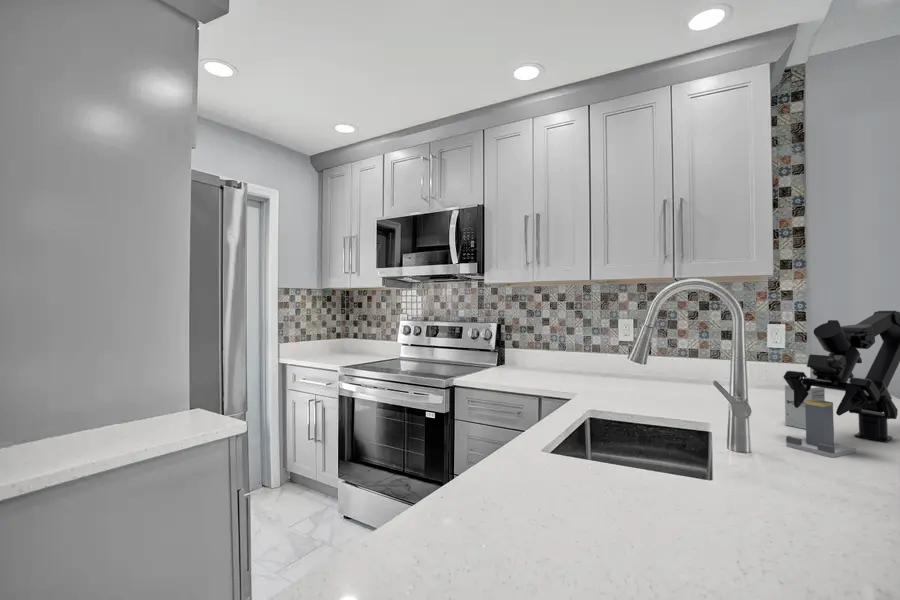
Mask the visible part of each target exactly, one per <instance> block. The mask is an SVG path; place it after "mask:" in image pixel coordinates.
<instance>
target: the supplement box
mask: <svg viewBox="0 0 900 600" xmlns="http://www.w3.org/2000/svg"><path fill="white" fill-rule="evenodd" d="M825 389H826V388H823V387H816V386H811V389H810V390H809V391H807V392H808V393H809V394H808V396H807V397H806V398H805V400H804V401H803V402H802V404H801V405H800V406H799V407H798V408H795V406H794V390H792V389H791V388H790V386H789V385H788V383H785V384H784V410H785V411H784V415H785V416H784V417H785V418H784V420H785V423H784V424H785V426H789V427H795V428H799V429H804V430H806V411H805V401H807V400H814V399H815V400H821V401H826V399H825Z"/></svg>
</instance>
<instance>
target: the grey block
mask: <svg viewBox="0 0 900 600" xmlns="http://www.w3.org/2000/svg"><path fill="white" fill-rule="evenodd" d="M805 411H806V429H805V436H806V438H805V439H806V444H809V445H813V446H817V447H818V444H819V443H821V444H825V445H830V446H834V443H835V432H834V431H835V427H834V425H835V424H834V423H835V422H834V402H833V401H826V400H825V401H821V400H815V399H814V400H807V401H805Z"/></svg>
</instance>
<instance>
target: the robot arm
mask: <svg viewBox="0 0 900 600" xmlns="http://www.w3.org/2000/svg"><path fill="white" fill-rule="evenodd" d="M813 334H814V336H815V338H816V339H817V341H818V342H819V344H820V346H821V347H822V349H823V350H824V351H826V352H828V353H829V354H828V355H826V354H825V355H824V354H809V355H808V358H807V364H806V367H807V368H810V369H811V370H812V372H811V373H812V374H813V376H816V377H815V378H813V377H808V376H807V375H806V373H805V372H804V371H796V370H787V371H785V373H784V375H783V376H782V378H783V379H784V380H785V382H786V384H788V385H789V386H790V388H791V389H792V390H794V406H795V408H798V407H799V406H800V405H801V404H802V402H803V401H804V400H805V398H806V397H807V396H808V394H809V393H808V392H807V391H809V390H810V389H811V386H816V387H823V388H825V389H827V390H834V391H841V392H844V395H843V397H842V399H841V400H840V403H839V405H838V406H837V409H836V415H837V416H842V415H843V414H846V413H848V412H849V413H850V414H857V416H858V432H857V433H856V434H854V437H856V438H859V439H860V438H862V439H866V440H871V441H877V442H878V441H879V442H885V443H886V442H887V443H888V442H889V441H890V440H891V439H892V438H893V436H891V435H888V433H889V432H888V431H889V430H888V420H897V416H898V415H899V414H898V408H897V407H896V405H895V403H894V402H893V400H892V399H893V397H892V396H891V394H890V391H889V390H888V387H889V386H890V383H891V382H892V379H893V377H894V375H895V373H896V371H897V369H898V367H899V364H900V311H897V310H877V311H875V312H873V314H871V316H869V317H867V318H865V319H863V320H862V321H860V322H858V323H856V324H850V325H842V326H841V323H840V322H839V320H838V319H828V320H827V322H826V323H822V324H819V325H818V326H817V327H815V328H814V329H813ZM877 336H880V338H881V340H882V344H881V345H880V348H879V350H878V352H877V354H876V355H875V358H874V360H873V362H872V364H871V366H870V367H869V370H868V372H867V374H866V375H865V378H863V377H862V378H859V377H854V373H853V371H854V369H855V366H856V365H857V364H862V362H863V359H862V358H861V353H860V351H859V350H868V349H870V348H871V347H872V346H874V344H875V343H876V337H877ZM848 381H849V382H848Z"/></svg>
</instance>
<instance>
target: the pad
mask: <svg viewBox="0 0 900 600" xmlns="http://www.w3.org/2000/svg"><path fill="white" fill-rule="evenodd" d="M785 437H786V439H785V444H786V447H789V448H792V449H796V450H801V451H805V452H808V453H812V454H816V455H820V456H825V457H828V458H831V459H833V458H837V457H842V456H847V455H851V454H855V453H856V452H857V449H856V447H852V446H848V445H844V444H838V443H835V442H834V446H830V445H825V444H821V443H819V444H818V447H817V446H813V445H809V444H806V438H799V437H795V436H791V435H787V436H785Z"/></svg>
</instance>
